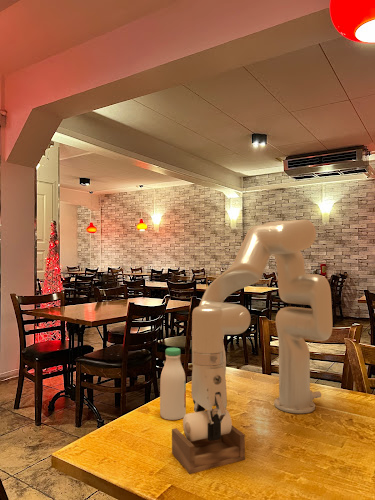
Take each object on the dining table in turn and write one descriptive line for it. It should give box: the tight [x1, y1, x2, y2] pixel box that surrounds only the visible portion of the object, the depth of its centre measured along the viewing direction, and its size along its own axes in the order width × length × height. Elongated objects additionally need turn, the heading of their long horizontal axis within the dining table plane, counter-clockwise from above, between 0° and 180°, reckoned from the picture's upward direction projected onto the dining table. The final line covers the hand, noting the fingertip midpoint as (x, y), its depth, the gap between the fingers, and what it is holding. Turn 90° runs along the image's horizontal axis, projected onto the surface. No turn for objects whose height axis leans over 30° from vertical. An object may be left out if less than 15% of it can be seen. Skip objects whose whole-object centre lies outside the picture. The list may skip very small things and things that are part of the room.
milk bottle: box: [159, 347, 187, 421], centre depth 118 cm, size 8×8×20 cm
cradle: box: [171, 425, 246, 475], centre depth 94 cm, size 14×10×6 cm
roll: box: [182, 407, 233, 442], centre depth 93 cm, size 10×6×6 cm, turn 115°
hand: (207, 433), depth 93 cm, fingers closed on roll, 6 cm apart
